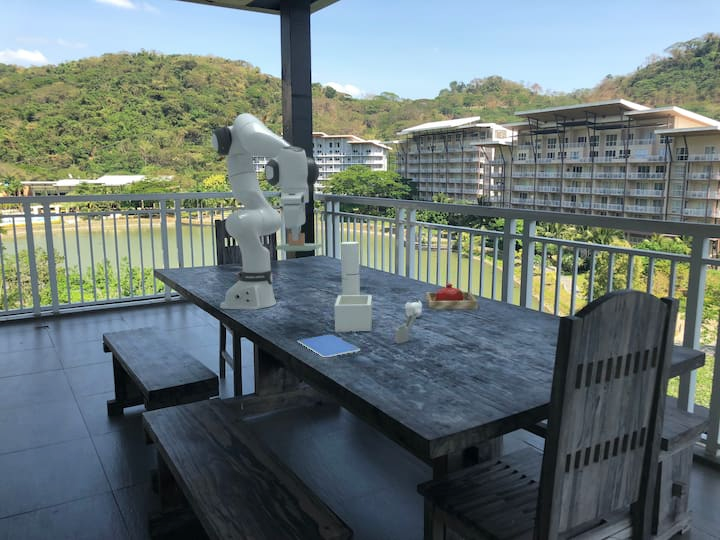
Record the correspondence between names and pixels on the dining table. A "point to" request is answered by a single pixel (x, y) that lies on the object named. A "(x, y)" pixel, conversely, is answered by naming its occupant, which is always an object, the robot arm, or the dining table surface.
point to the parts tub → (353, 313)
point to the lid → (298, 244)
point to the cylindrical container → (350, 268)
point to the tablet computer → (328, 345)
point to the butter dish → (449, 294)
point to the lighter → (404, 330)
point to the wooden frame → (452, 302)
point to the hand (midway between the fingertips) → (296, 239)
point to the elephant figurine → (413, 308)
